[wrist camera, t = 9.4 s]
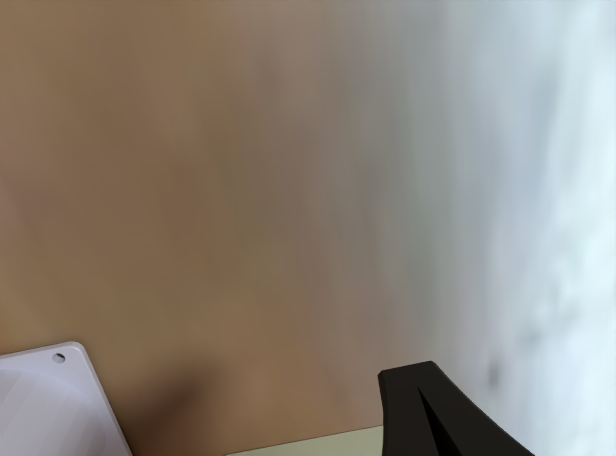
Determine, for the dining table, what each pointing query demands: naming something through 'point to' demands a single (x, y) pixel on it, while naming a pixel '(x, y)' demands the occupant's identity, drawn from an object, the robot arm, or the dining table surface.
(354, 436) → the cream toy brick
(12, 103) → the dining table surface
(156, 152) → the dining table surface
